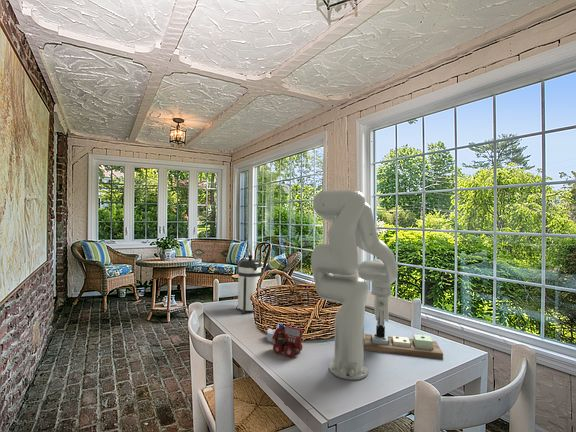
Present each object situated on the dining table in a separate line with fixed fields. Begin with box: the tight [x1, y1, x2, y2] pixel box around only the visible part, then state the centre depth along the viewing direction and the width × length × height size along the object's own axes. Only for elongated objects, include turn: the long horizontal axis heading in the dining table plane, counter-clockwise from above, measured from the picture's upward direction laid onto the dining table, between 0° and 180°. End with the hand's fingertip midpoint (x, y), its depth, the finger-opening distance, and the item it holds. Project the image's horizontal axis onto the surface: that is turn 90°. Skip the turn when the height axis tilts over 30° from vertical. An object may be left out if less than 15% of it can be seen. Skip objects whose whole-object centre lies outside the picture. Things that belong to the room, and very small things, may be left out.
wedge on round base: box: [266, 323, 285, 343], centre depth 132 cm, size 9×7×13 cm
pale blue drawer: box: [371, 333, 389, 345], centre depth 128 cm, size 6×6×3 cm
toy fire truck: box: [271, 324, 303, 359], centre depth 119 cm, size 7×12×10 cm, turn 58°
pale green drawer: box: [412, 333, 433, 350], centre depth 124 cm, size 6×6×3 cm
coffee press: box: [235, 254, 263, 315], centre depth 173 cm, size 17×16×30 cm
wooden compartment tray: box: [364, 333, 444, 360], centre depth 126 cm, size 12×28×2 cm, turn 76°
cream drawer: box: [391, 335, 410, 347], centre depth 126 cm, size 6×6×3 cm
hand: (380, 336), depth 128 cm, fingers closed
